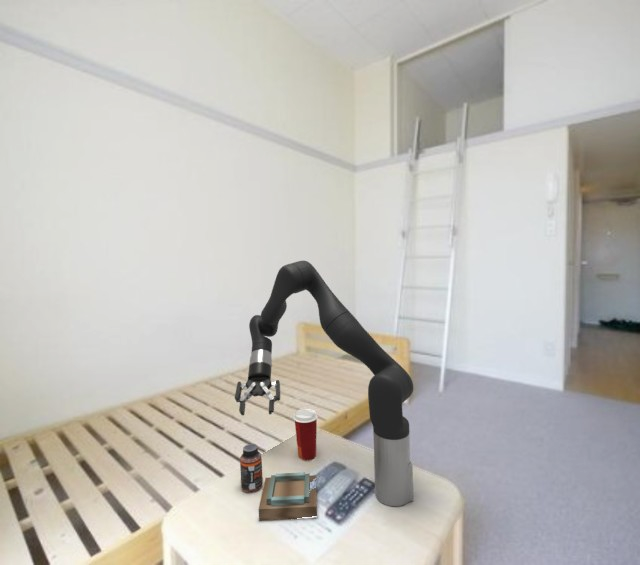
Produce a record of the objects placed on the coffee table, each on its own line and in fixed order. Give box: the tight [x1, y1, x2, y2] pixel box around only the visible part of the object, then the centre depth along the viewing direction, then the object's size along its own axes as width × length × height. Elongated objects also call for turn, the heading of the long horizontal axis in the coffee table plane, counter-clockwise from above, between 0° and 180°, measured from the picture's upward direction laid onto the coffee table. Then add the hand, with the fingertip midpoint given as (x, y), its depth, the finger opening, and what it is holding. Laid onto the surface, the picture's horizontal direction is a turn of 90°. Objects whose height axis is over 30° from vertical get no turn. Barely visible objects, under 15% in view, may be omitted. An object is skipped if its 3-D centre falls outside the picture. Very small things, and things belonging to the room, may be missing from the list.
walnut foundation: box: [258, 471, 318, 522], centre depth 89 cm, size 14×12×4 cm
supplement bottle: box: [239, 443, 264, 493], centre depth 95 cm, size 6×6×11 cm
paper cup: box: [293, 408, 319, 461], centre depth 109 cm, size 8×8×14 cm
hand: (256, 414), depth 106 cm, fingers open, 8 cm apart
